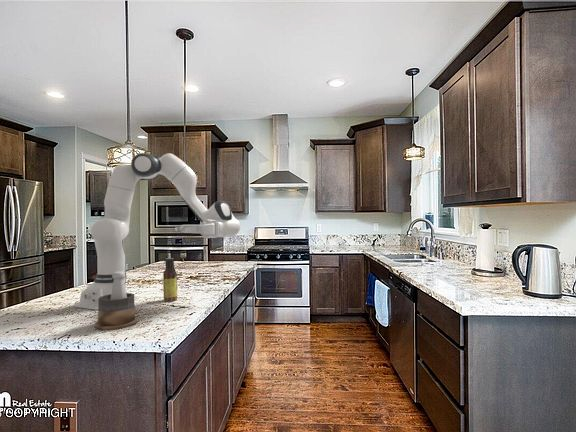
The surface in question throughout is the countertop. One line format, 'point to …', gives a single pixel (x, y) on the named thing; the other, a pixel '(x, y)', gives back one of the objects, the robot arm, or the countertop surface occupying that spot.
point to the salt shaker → (118, 286)
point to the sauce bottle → (170, 281)
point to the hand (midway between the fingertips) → (180, 229)
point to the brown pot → (116, 313)
